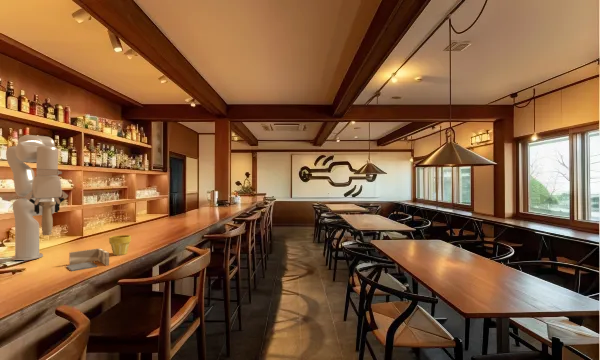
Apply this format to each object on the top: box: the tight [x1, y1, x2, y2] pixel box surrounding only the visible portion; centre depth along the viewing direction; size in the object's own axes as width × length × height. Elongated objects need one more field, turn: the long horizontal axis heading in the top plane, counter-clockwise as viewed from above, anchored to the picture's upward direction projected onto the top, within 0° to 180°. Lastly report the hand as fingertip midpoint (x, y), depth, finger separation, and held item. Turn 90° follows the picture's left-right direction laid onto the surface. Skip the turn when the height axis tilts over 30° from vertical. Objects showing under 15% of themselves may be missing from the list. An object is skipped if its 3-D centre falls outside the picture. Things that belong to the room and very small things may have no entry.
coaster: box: [66, 261, 98, 272], centre depth 145 cm, size 10×10×1 cm
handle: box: [38, 202, 56, 236], centre depth 140 cm, size 5×6×15 cm
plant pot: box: [108, 234, 132, 256], centre depth 171 cm, size 10×10×10 cm
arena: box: [68, 247, 110, 267], centre depth 148 cm, size 15×13×6 cm
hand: (47, 212), depth 140 cm, fingers closed on handle, 6 cm apart
